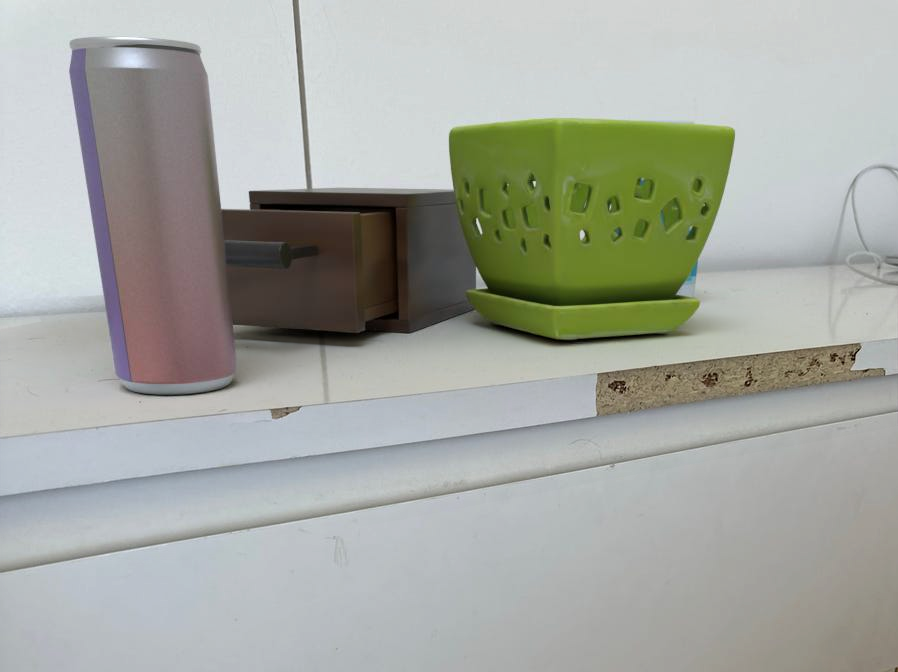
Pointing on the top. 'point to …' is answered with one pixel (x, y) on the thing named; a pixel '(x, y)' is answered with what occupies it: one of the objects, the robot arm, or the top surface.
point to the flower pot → (587, 220)
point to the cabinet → (405, 248)
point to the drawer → (311, 266)
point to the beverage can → (155, 211)
